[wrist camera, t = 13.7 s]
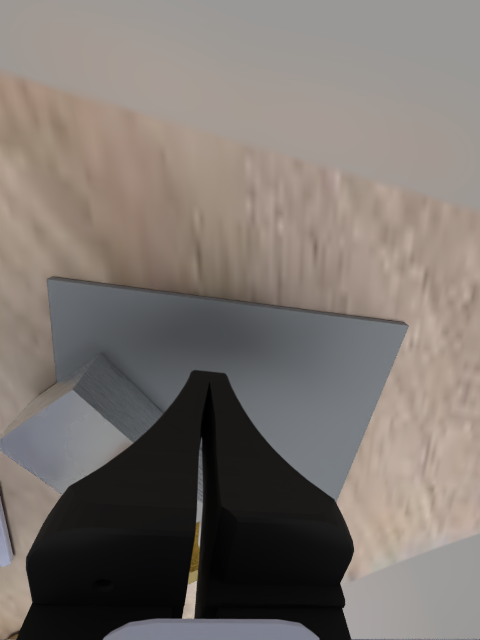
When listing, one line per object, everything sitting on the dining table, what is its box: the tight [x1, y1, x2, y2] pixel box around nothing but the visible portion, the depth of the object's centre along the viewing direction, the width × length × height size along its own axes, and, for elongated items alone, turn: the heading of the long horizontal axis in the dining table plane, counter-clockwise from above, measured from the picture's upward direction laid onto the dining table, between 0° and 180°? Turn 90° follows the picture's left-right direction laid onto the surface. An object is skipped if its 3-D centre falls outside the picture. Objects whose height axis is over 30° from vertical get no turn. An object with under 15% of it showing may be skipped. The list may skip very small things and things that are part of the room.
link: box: [0, 352, 203, 584], centre depth 16 cm, size 13×5×3 cm, turn 35°
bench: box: [47, 277, 409, 547], centre depth 17 cm, size 17×17×3 cm
